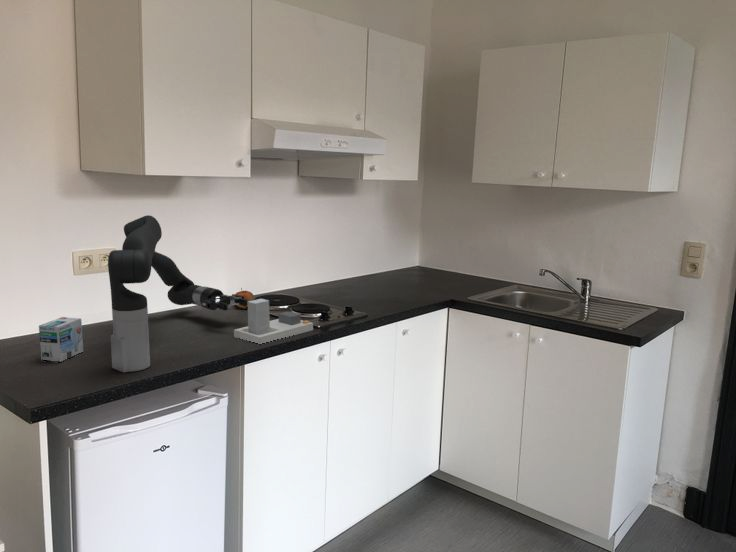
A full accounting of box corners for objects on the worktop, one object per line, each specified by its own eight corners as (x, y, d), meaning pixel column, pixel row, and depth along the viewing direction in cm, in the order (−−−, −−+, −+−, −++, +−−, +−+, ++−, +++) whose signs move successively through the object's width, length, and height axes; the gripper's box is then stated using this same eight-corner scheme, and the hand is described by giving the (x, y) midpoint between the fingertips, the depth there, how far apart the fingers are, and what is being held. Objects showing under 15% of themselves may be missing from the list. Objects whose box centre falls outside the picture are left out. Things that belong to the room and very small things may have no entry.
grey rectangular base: (260, 344, 198) (259, 328, 197) (234, 337, 206) (233, 320, 205) (313, 330, 216) (313, 314, 215) (287, 323, 224) (287, 308, 223)
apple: (244, 311, 240) (243, 291, 239) (230, 308, 244) (230, 288, 243) (257, 307, 246) (257, 288, 245) (244, 305, 250) (243, 285, 249)
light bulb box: (61, 363, 177) (58, 327, 175) (40, 361, 178) (37, 325, 176) (84, 352, 187) (82, 317, 185) (64, 350, 189) (62, 316, 187)
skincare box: (261, 332, 210) (261, 298, 207) (270, 335, 207) (269, 300, 205) (247, 336, 205) (246, 301, 203) (256, 339, 202) (255, 303, 200)
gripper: (190, 290, 216) (219, 297, 206) (224, 284, 226) (253, 291, 216) (191, 311, 217) (220, 319, 207) (224, 304, 228) (253, 312, 218)
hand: (237, 305), depth 212 cm, fingers open, 8 cm apart
